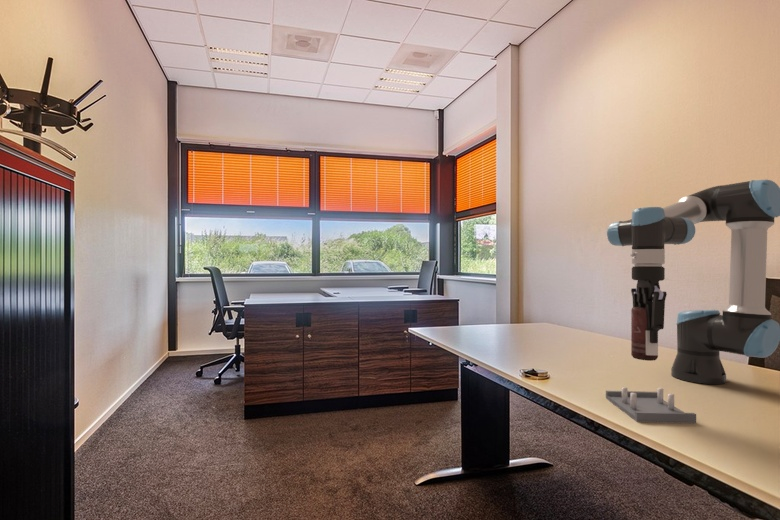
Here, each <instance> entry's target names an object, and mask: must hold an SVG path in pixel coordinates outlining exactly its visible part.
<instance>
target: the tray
mask: <svg viewBox="0 0 780 520" xmlns="http://www.w3.org/2000/svg"><path fill="white" fill-rule="evenodd" d="M605 399H606V400H608V401H609V402H610V403H612V404H613V405H614V406H616V407H617V408H618V409H620V410H621V411H622V412H623V413H624V414H626V415H628V416H629V417H630V418H631V419H632V420H634V421H635V422H637V423H640V422H641V423H673V424H674V423H675V424H677V423H678V424H697V413H695V412H684V411H683V410H681V409H680V408H678V407H676V406H675V394H673V393H667V401H666V400H664V388H662V387H657V391H645V390H643V391H642V390H641V391H640V390H637V391H636V390H628V387H624V386H623V387H621V390H605Z"/></svg>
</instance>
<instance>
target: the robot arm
mask: <svg viewBox="0 0 780 520" xmlns="http://www.w3.org/2000/svg"><path fill="white" fill-rule="evenodd" d="M778 217H780V186H779V185H778V184H777V183H776V182H775V181H774V180H771V179H759V180H757V179H756V180H750V181H742V182H736V183H729V184H723V185H715V186H712V187H708V188H705V189H702V190H700V191H697V192H694V193H692V194H689V195H687V196H684V197H682V198H680V199H679V200H678V201H677V202H676V203H674V204H670V205H668V206H665V207H661V206H646V207H637V208H635V209H634V210H632V213H631V219H629V220H623V221H622V220H619V221H615V222H611V223H610V224H609V226H608V227H607V230H606V236H607V240H608V242H609V244H611V245H612V246H616V247H617V246H619V247H625V246H626V247H627V246H629V247H630V246H631V253H630V257H631V264H632V265H634V266H632V267H631V280H633V281H637V282H636V288H634V287H633V288H631V289H630V290H631V291H630V292H631V296H632V307H633V306H638V307H639V308H641V307H643V308H646V314H647V327H648V328H645V330H646V355H658V356H659V331H660V330H664V328H665V327H664V326H665V308H666V307H665V306H666V300H667V299H666V298H667V295H668V294H667V291H662V290H661V286H660V282H661V281H664V280H665V278H666V277H665V275H666V274H665V272H666V270H665V269H666V268H665V266H663V265H665V262H666V261H665V259H666V257H665V256H666V255H665V253H666V251H665V250H666V249H665V245H674V246H675V245H676V246H677V245H685V244H687V243H689V242H691V241H692V240H693V239H694V237H695V235H696V226H695V225H696V224H699V223H703V222H704V223H705V222H707V223H708V222H721V221H725V226H726V227H727V228H728V229H729V230H731V231H730V232H731V235H730V236H731V237H730V263H729V264H730V265H729V266H730V267H729V292H728V293H729V294H728V295H729V296H728V298H729V299H728V305H727V306H726V307H725V308H723V309H722V314H721V312H720V310H718V309H697V310H696V309H695V310H682V311H679V313H678V314H677V316H676V317H677V319H676V332H677V333H676V337H677V338H676V340H677V341H676V344H677V345H676V347H677V348H676V349H677V351H676V355H675V358H674V360H673V363H672V366H671V368H670V369H671V370H670V371H671V372H670V374H671V376H672V377H674V378H675V379H678V380H682V381H686V382H691V383H696V384H705V385H706V384H707V385H722V384H723V385H724V384H726V383H727V374H726V371H725V368H724V365H723V363H722V361H721V358H720V352H723V353H728V354H736V355H741V356H745V357H750V358H751V357H753V358H761V359H762V358H763V359H764V358H765V359H766V358H768V357H769V356H772V355H773V353H774V352H775V351H776V350H777V348H778V346H779V344H780V324H779V322H778V321H776V320H774V319H772V313H771V312H770V311H769V310H768V309H767V308H766V286H767V283H766V282H767V257H768V256H767V255H768V254H767V253H768V230H769V229H770V228H771V227H773V226H774V225H775V218H778Z"/></svg>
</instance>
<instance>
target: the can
mask: <svg viewBox="0 0 780 520" xmlns="http://www.w3.org/2000/svg"><path fill="white" fill-rule="evenodd" d="M630 313H631V319H630V320H631V321H630V324H631V326H630V327H631V335H630V337H631V348H630V350H631V357H632V358H633V359H636V360H641V361H647V362H648V361H651V362H652V361H657V359H658V358H659V354H658V355H646V330H645V328H648V327H647V314H646V308H643V307H641V308H639V307H638V306H633V305H632V308H631V310H630Z"/></svg>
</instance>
